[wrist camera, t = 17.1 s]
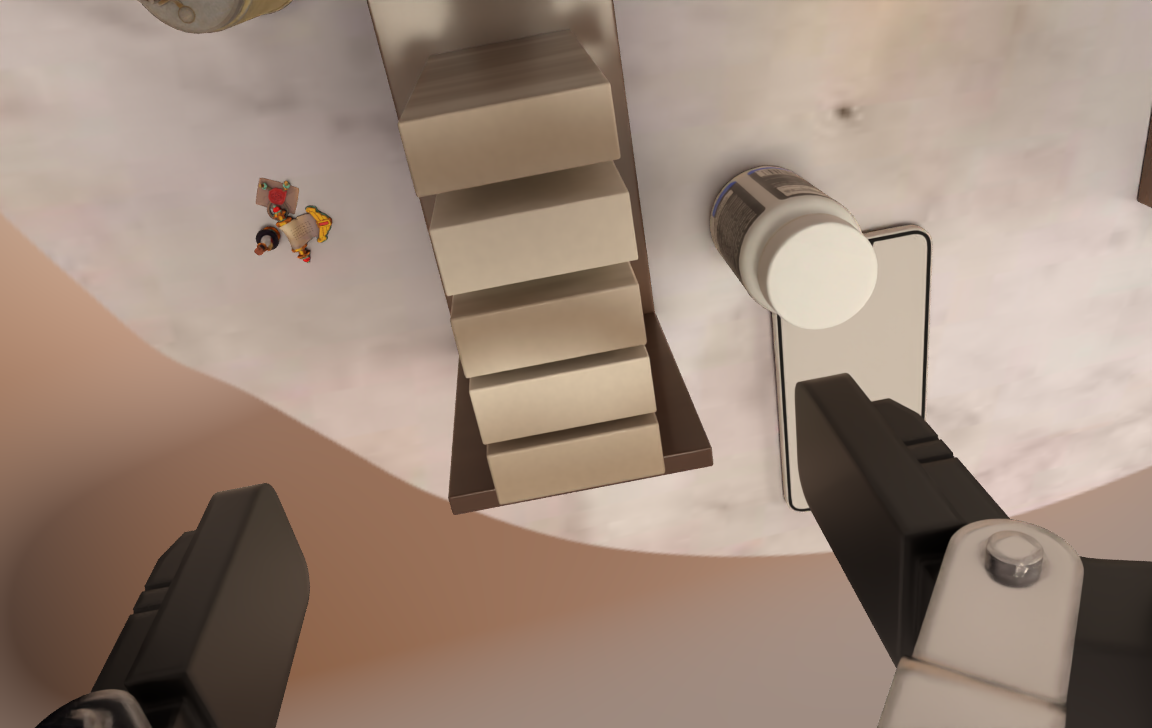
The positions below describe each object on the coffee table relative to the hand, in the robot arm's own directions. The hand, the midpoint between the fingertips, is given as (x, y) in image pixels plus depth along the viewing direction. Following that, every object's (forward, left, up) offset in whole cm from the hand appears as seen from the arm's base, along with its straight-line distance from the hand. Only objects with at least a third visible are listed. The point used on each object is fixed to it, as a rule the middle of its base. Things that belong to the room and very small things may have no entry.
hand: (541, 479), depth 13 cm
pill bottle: (+2, +12, -24) cm, 27 cm away
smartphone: (+9, +19, -24) cm, 32 cm away
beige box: (0, +1, -23) cm, 23 cm away
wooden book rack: (+1, +1, -24) cm, 24 cm away
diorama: (+6, -8, -25) cm, 27 cm away
